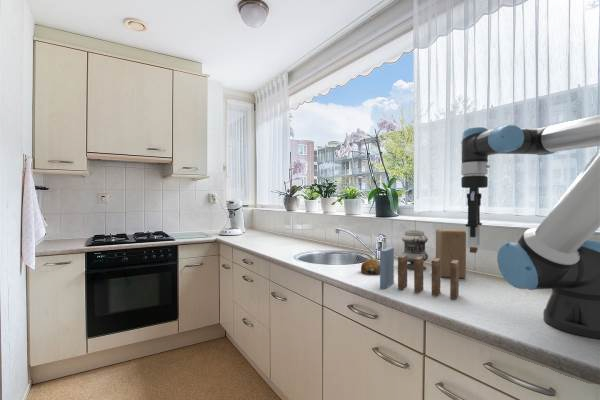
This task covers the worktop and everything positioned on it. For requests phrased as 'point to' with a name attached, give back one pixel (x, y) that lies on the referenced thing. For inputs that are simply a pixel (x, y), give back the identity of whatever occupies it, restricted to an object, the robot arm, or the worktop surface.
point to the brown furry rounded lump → (371, 267)
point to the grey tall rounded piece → (414, 246)
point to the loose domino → (474, 249)
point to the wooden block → (451, 250)
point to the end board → (386, 267)
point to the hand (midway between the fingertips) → (473, 245)
